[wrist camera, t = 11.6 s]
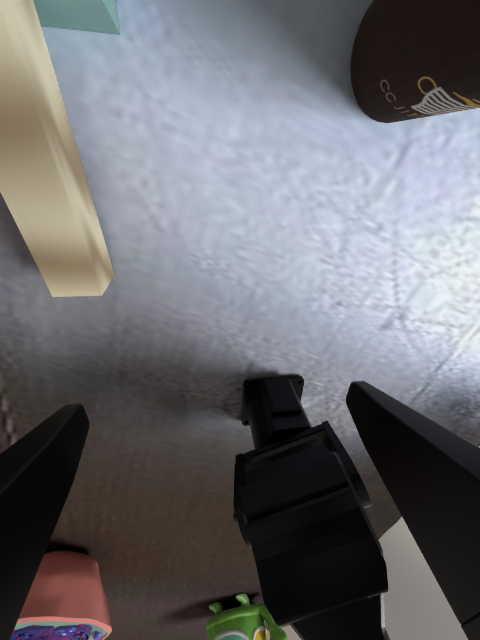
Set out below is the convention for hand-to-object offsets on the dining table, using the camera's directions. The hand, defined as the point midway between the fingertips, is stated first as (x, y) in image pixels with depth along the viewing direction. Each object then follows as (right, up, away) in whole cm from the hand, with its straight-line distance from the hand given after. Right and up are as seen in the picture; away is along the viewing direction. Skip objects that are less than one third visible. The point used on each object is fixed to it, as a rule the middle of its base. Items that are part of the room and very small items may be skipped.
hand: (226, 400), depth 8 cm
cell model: (-28, -34, +29) cm, 52 cm away
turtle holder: (0, -64, +49) cm, 81 cm away
